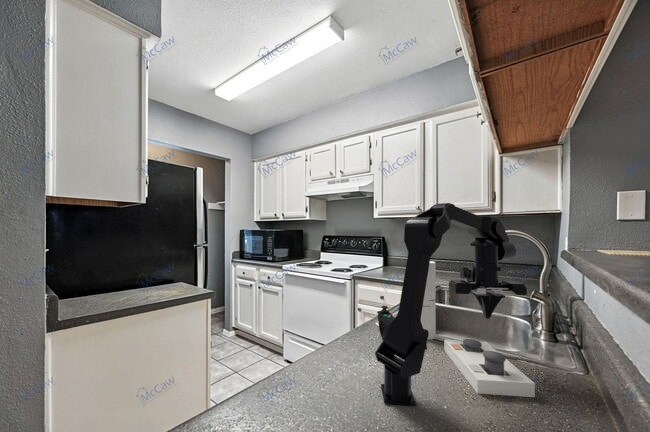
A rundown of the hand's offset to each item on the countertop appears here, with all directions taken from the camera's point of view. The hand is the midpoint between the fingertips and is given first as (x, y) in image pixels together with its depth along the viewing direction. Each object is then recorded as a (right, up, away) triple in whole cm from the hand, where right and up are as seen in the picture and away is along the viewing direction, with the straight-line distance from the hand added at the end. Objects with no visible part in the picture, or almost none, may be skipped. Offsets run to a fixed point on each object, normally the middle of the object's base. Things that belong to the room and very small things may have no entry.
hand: (487, 318), depth 78 cm
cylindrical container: (-11, -12, +17) cm, 24 cm away
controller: (-25, -12, +13) cm, 30 cm away
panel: (-4, -12, -5) cm, 13 cm away
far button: (-4, -12, +1) cm, 12 cm away
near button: (-5, -9, -11) cm, 15 cm away
